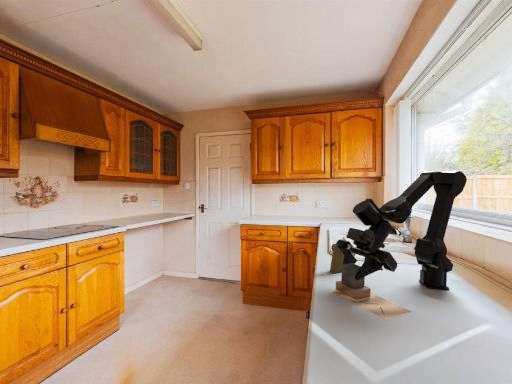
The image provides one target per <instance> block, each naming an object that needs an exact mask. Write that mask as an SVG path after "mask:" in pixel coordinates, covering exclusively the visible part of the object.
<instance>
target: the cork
mask: <svg viewBox="0 0 512 384" xmlns="http://www.w3.org/2000/svg"><path fill="white" fill-rule="evenodd" d="M335 244H336V243H332V245H331V247H330V248H331V252H332V254H331V261H330V268H329V273H331V274H333V275H337V274H342V273H341V269H342V264H343V260H344V254H343V253H342V252H341V251H340V250H339V249H338V247H337V246H336V245H335Z"/></svg>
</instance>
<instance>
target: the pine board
mask: <svg viewBox="0 0 512 384" xmlns="http://www.w3.org/2000/svg"><path fill="white" fill-rule="evenodd" d="M330 291H331V292H333V293H335V294H337V295H339V296H341V297H342V298H345V299H347V300H348V301H350V302H352V303H353V304H355V305H357V306H359V307H360V308H362V309H365V310H366V311H368V312H370V313H372V314H374V315H375V316H378V317H379V318H382V319H383V320H385V321H388V320H391V319H395V318H397V317H401V316H404V315H407V314H411V313H412V312H413V311H412V310H409V309H407V308H405V307H403V306H401V305H399V304H397V303H395V302H392V301H391V300H388V299H385V298H384V297H381V296H379V295H377V294H374V293H373V292H371V291H370V298H369V299H365V300H361V301H357V302H356V301H354V300H352V299H350V298H348V297H347V296H345V295H343V294H341V293H339V292H337V291H336V288H335V289H334V288H333V289H331V290H330Z"/></svg>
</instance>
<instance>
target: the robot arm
mask: <svg viewBox="0 0 512 384" xmlns="http://www.w3.org/2000/svg"><path fill="white" fill-rule="evenodd" d="M467 180H468V178H467V176H466V174H465V173H464V172H463V171H460V170H454V171H437V170H429V171H428V170H426V171H422V172H420V174H419V176H418V177H417V178H416V179H415V180H414V181H413V182H412V183H411V184H410V185H409V186H408V187H407V188H406V189H405V190H404V191H402V192H401V194H400V195H399V196H397V197H396V198H393V199H391V200H388V201H387V202H385V203H384V204H383V205H381V207H379V206H377V205H376V203H375V201H374V200H373V199H372V198H365V200H363V201H361V202H358V203H357V204H355V206H353V208H352V213H353V214H354V215H355V216H356V217H357V219H358V220H359V221H360V222H361V223H362V224H363V225H364V226H369V227H368V229H367V228H366V229H365V230H362V229H358V228H354V227H349V228H348V231H347V234H346V236H345V238H346V239H350V240H351V241H353V242H352V243H353V244H352V243H351V242H350V241H348V240H345V239H338V240H337V241H336V242H335V243H334V244H335V245H336V246H337V247H338V249H339V250H340V251H341V252H342V253H343V254H344V260H343V264H349V263H353V264H357V262H358V260H357V258H356V255H358V256H361V257H364V258H363V259H364V261H363V263H362V264H361V265H360V266H361V268H360V269H359V271H358V272H357V274H356V276H355V279H356V280H359V279H361V278H363V277H365V278H366V277H367V276H369V275H371V274H373V273H376V272H379V271H383V270H386V271H389V272H392V273H395V271H396V269H397V268H398V262H397V260H396V259H395V257H394V256H393V255H392V254H391V252H390V251H387V250H383V249H385V247H386V245H385V244H384V243H385V241H386V240H387V238H388V236H389V235H394V236H395V235H397V233H398V232H397V230H396V226H395V225H392V224H391V223H395V224H403V223H406V221H407V220H408V219H409V217H410V215H411V214H412V212H413V207H414V206H415V205H416V203H417V202H419V200H420V199H421V198H423V197H424V195H426V194H427V192H428V191H430V190H431V188H432V187H433V190H434V192H435V195H436V196H435V200H434V202H433V203H434V204H433V207H432V211H431V215H430V218H429V222H428V226H427V229H426V231H425V235H424V236H423V237H422V238H417V239H416V241H415V246H414V247H413V250H414V256H415V258H416V262H417V264H418V265H421V269H420V270H419V279H418V282H419V283H421V284H422V285H423V286H424V287H426V288H428V289H436V290H437V289H438V290H447V291H449V290H450V287H449V286H447V279H448V277H447V276H448V273H450V272H452V271H453V268H454V264H453V262H452V261H451V260H450V259H449V258H448V256H447V251H448V249H447V246H446V243H445V240H444V239H445V236H446V231H447V229H448V224H449V220H450V217H451V212H452V208H453V205H454V202H455V199H456V198H457V197H458V196H459V195H460V194H461V193H462V192H464V189H465V186H466V184H467ZM353 245H354V246H353ZM355 246H356V247H355ZM340 274H342V269H341V273H340Z"/></svg>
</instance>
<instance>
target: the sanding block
mask: <svg viewBox="0 0 512 384" xmlns="http://www.w3.org/2000/svg"><path fill="white" fill-rule="evenodd" d="M361 266H362V265H358V264H357V263H355V264H353V263H349V264H342V273H341V277H340V278H341V279H340V280H337V281H335V289H336V291H337V292H339V293H341V294H343V295H345V296H347V297H348V298H350V299H352V300H354V301H356V302H357V301H361V300H365V299H369V298H370V292H371V288H370V287H368V286H367V285H365V278H366V276H365V277H363V278H361V279H359V280H356V279H355V276H356V274H357V272H358V271H359V269H360V268H361Z"/></svg>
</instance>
